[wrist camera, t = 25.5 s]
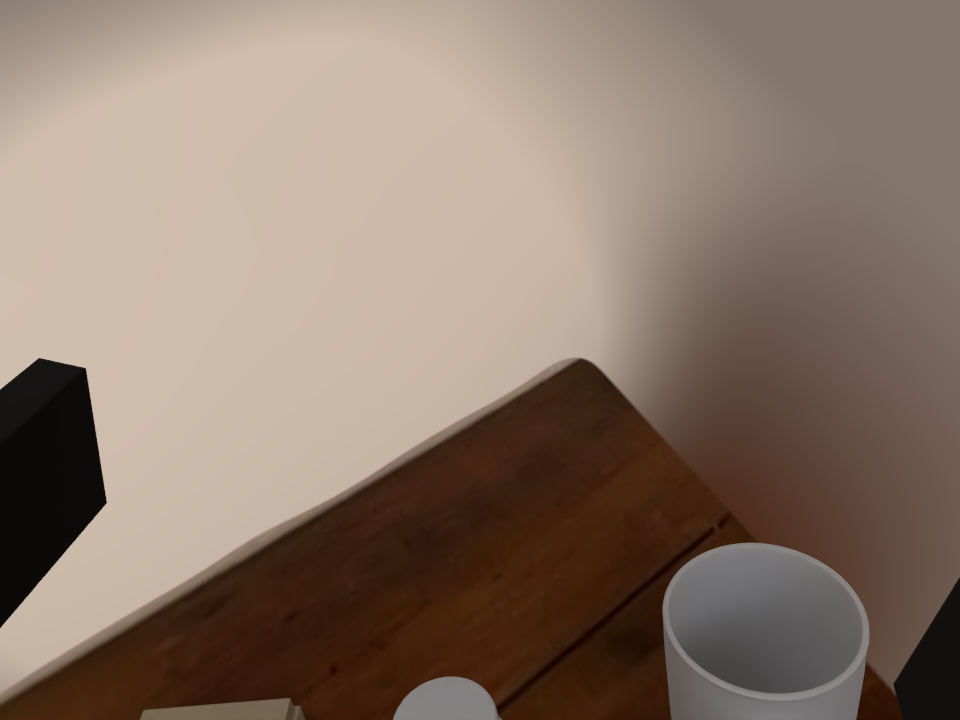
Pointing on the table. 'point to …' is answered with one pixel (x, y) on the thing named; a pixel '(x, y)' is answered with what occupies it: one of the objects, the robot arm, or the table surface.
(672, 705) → the mug
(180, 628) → the table surface
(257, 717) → the beige stepped flat slab
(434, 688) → the pill bottle
